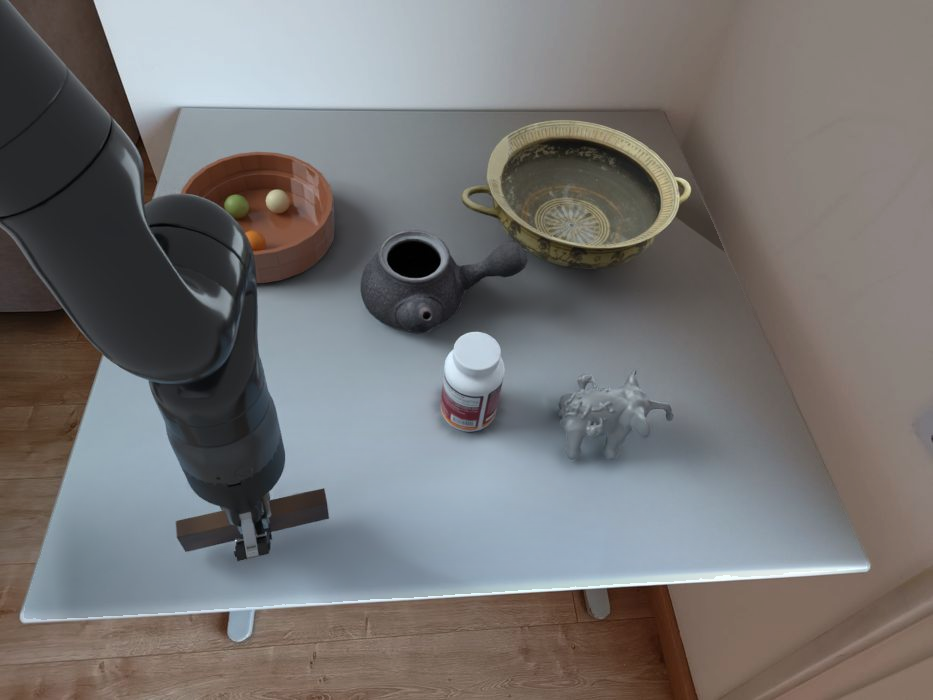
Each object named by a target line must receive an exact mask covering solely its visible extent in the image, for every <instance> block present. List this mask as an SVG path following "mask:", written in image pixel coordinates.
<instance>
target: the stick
mask: <svg viewBox="0 0 933 700" xmlns="http://www.w3.org/2000/svg"><path fill="white" fill-rule="evenodd" d="M325 489H326V488H324V487H323V488H318V489H313V490H309V491H305V492H301V493H296V494H292V495H291V494H290V495H287V496H282V497H278V498H273V499H270V508H271V516H270V517H268V518H269V519H270V524H269V527H270V530H271V533H274V532H278V531H282V530H283V531H284V530H287V529H292V528H296V527H300V526H304V525H309V524H312V523H317V522H323V521H325V520H329V519H330V515H329V514H330V513H329V506H328V505H329V504H328V500H327V494H326V490H325ZM175 532H176V534H175V535H176V539H177V540H178V542H179V544H180V545H181V547H182V549H183V551H184V552H185V553H188V552H192V551H196V550H200V549H205V548H209V547H214V546H218V545H222V544H227V543H232V542H235V539H236V538H239V537H240V536H243V534H240V532H239V531H238V528H237V526H235V525H231V524H230V523H229V520H228V517H227V515H226V512H225V511H223V510H218V511H214V512H210V513H205V514H200V515H196V516H192V517H187V518H182V519H179V520H175Z"/></svg>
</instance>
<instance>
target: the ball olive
mask: <svg viewBox="0 0 933 700" xmlns="http://www.w3.org/2000/svg"><path fill="white" fill-rule="evenodd" d="M224 209H225V210H226V211H227V212H228V213H229V214H230V215H231V216H232V217H233V218H235V219H240V218H243V217H244V216H246V214H247V213H248V211H249V204H248V202H247V200H246V199H245V198H244V197H243V196H240V195H231V196H229V197H228V198H227V199H226V201H225V203H224Z"/></svg>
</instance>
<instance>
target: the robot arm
mask: <svg viewBox="0 0 933 700" xmlns="http://www.w3.org/2000/svg"><path fill="white" fill-rule="evenodd" d="M107 111H108V110H106V109H105V108H104V106H102V104H101V103H100V102H99V101H98V100H97V99H96V97H94V95H93V94H92V93H91V92H90V91H89V90H88V89H87V88H86V86H85V85H84V84H83V83H82V82H81V81H80V80H79V79H78V78H77V77H76V75H75V74H74V73H73V72H72V71H71V70H70V69H69V67H68V66H67V65H66V64H65V63H64V61H62V59H61V58H60V57H59V56H58V55H57V53H55V52H54V51H53V49H52V48H51V47H50V46H49V45H48V44H47V42H46V41H44V39H43V38H42V37H41V36H40V35H39V34H38V32H37V31H36V30H35V29H34V28H33V27H32V26H31V24H30V23H29V22H27V20H26V19H25V18H24V16H23V15H22V14H21V13H20V12H19V10H17V8H16V7H15V6H14V5H13V4H12V3H11V2H10V1H9V0H0V228H1V229H2V230H3V231H5V232H6V233H7V235H9V236H10V237H11V239H12V240H13V241H14V242H15V244H16V245H17V247H18V248H19V249H20V251H21V252H22V254H23V256H24V257H25V258H26V260H27V261H28V263H29V264H30V266H31V267H32V269H33V270H34V272H35V273H36V275H37V276H38V277H39V278H40V280H41V281H42V282H43V284H44V285H45V286H46V287H47V289H48V290H49V291H50V293H51V294H52V296H54V298H55V300H56V301H57V302H58V304H59V305H60V306H61V308H62V309H63V311H64V312H65V313H66V314H67V316H68V317H69V318H70V320H71V321H72V323H73V324H74V325H75V327H76V328H77V329H78V330H79V331H80V333H81V334H82V335H83V337H85V339H86V341H88V342H89V343H90V344H91V345H92V346H93V347H94V348H95V349H96V350H97V351H98V352H99V353H100V354H101V355H102V356H104V358H106V359H107V360H108V361H110V362H111V363H112V364H114V365H116V366H117V367H119V369H122V370H123V371H125V372H127V373H130V375H134V376H135V377H138V378H142V379H144V380H146V381H148V385H149V390H150V392H151V395H152V397H153V400H154V402H155V404H156V406H157V408H158V410H159V412H160V415H161V417H162V420H163V421H164V424H165V430H166V431H165V432H166V436H167V439H168V442H169V444H170V447H171V448H172V451H173V453H174V455H175V457H176V460H177V461H178V463H179V466H180V468H181V470H182V472H183V474H184V476H185V479H186V481H187V483H188V485H189V487H190V488H191V490H192V491H193V492H194V493H195V494H196V495H197V496H198V497H199V498H200V499H202V500H203V501H205V502H207V503H209V504H212V505H214V506H217V507H219V508H220V511H225V512H226V515H227V517H228V520H229V523H230V524H231V525H235V526H237V528H238V531H239V532H240V534H243V536H240V537H239V538H236V539H235V541H234V542H235V546H234V550H233V556H234V558H236V561H237V562H242V561H246V560H251V559H255V558H258V557H263V556H266V555H267V556H268V555H270V552H271V546H272V540H273V536H272V532H271V530H270V527H269V524H270V519H269V518H268V517H270V516H271V508H270V500H272V499H271V498H272V497H271V493H270V492H271V490H272V489H273V488H274V487H275V486H276V485H277V483H278V482H279V480H280V479H281V477H282V475H283V472H284V469H285V464H286V450H285V446H284V440H283V436H282V431H281V426H280V421H279V416H278V412H277V408H276V404H275V401H274V399H273V397H272V395H271V394H270V391H269V389H268V383H267V379H266V375H265V369H264V365H263V362H262V358H261V356H260V351H259V340H258V339H259V337H258V336H259V335H258V327H259V310H258V307H259V306H258V304H259V303H258V283H257V276H256V265H255V259H254V254H253V250H252V247H251V244H250V242H249V240H248V237H247V236H246V234H245V232H244V231H243V229H242V227H241V226H240V225H239V223H238V222H237V221H236V220H235V219H234V218H233V217H232V216H231V215H230V214H229V213H228V212H227V211H226V210H224V209H223V208H222V207H220V206H219V205H217V204H215V203H214V202H212V201H210V200H207V199H205V198H202V197H199V196H196V195H191V194H181V193H170V194H165V195H161V196H158V197H155V198H152V199H151V200H149V201H147V202H146V203H145V168H144V161H143V159H142V157H141V154H140V152H139V149H138V148H137V147H136V145H135V144H134V142H133V141H132V139H131V138H130V136H129V135H128V134H127V133H126V132H125V131H124V130H123V128H122V126H120V125H119V123H117V121H116V120H115V119H114V118H113V117H112V115H110V113H109V112H107Z"/></svg>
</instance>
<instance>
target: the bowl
mask: <svg viewBox="0 0 933 700" xmlns="http://www.w3.org/2000/svg"><path fill="white" fill-rule="evenodd" d="M272 190H282V191H284V192H285V193H286V194H287V195H288V197H289V199H290V205H289V207H288V209H287V210H286V211H285V212H283V213H274V212H272V211H270V210H269V208H268V207H267V205H266V197H267V195H268V193H269V192H271V191H272ZM180 194H191V195H196V196H199V197H202V198H205V199H207V200H210V201H212V202H214V203H215V204H217V205H219V206H220V207H222V208H223V209H224V203H225V201H226V199H227V198H228V197H229V196H231V195H240V196H243V197H244V198H245V199H246V200H247V202H248V204H249V211H248V213H247V214H246V216H244V217H243V218H240V219H235V218H234V219H235V220H236V221H237V222H238V223H239V225H240V226H241V227H242V229H243V231H244V232H245V233H246V232H248V231H257V232H259V233H260V234H262V235H263V237H264V238H265V241H266V246H265V249H264V250H261V251H253V254H254V259H255V265H256V276H257V284H264V283H265V284H266V283H271V282H272V283H273V282H279V281H284V280H286V279H289V278H292V277H294V276H297V275H300V274H302V273H304V272H305V271H307V270H308V269H310V268H312V267H313V266H315V265H316V264H317V263H319V261H321V259H322V258H323V257H324V256H325V255H326V254H327V253H328V251H329V249H330V247H331V245H332V243H333V242H334V239H335V231H336V221H335V220H336V218H335V207H334V195H333V192H332V188H331V184H330V183H329V181H328V180H327V179H326V178H325V176H324V175H323V173H322V172H321V171H320V170H318V169H317V168H316V167H314V166H313V165H312V164H310V163H309V162H306V161H304V160H303V159H299V158H297V157H295V156H292V155H288V154H285V153H284V154H283V153H280V152H272V151H271V152H269V151H252V152H242V153H241V152H240V153H236V154H232V155H228V156H225V157H222V158H219V159H217V160H215V161H213V162H211V163H208V164H207V165H205V166H203V167H202V168H200V169H199V170H198V171H197V172H195V173H194V174H193V175H192V176H191V177H190V178H189V179H188V180H187V182H186V183H185V185H183V188H182V189H181V191H180ZM224 210H225V209H224Z"/></svg>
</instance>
